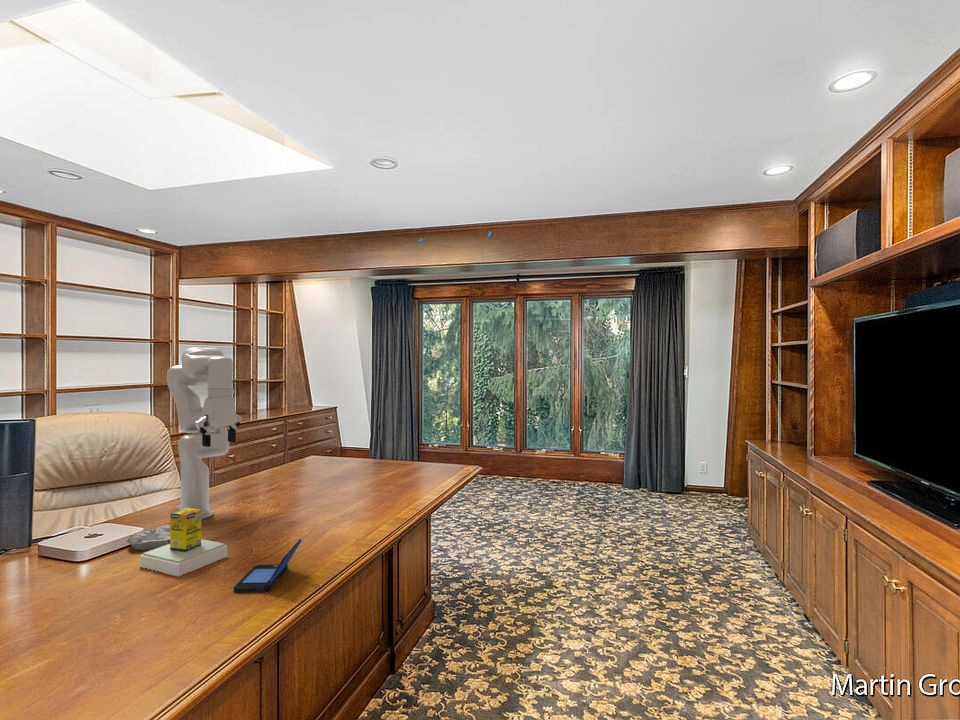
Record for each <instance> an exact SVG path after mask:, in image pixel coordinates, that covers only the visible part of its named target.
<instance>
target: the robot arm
mask: <svg viewBox="0 0 960 720" xmlns="http://www.w3.org/2000/svg"><path fill="white" fill-rule="evenodd" d="M180 360H181V364H178V365H173V366H171V367H169V368H168V369H167V372H166V383H167V387H168V390H169V392H170V394H171V396H172V398H173V400H174V402H175V407H176V412H177V413H176V414H177V420H178V425H179V429H180V430H181V432H182V433H185V434H184V435H183V436H181V437H180V438H179V440H178V441H177V449H178V450H177V451H178V454H179V456H178V457H179V463H180V503H179V505H176V506H175V510H178V511H179V510H183V509H185V508H193V509H201V510H202V515H201V520H204V519H207V518H210V517H212V516H213V515H214V510H213V509H210V470H209V469H210V468H209V466H208V465H207V464H206V463H205V462H204V461H203V460H202V459H206V458H210V457H211V458H212V457H221V456H225V455H226V454H228V453H229V451H230V445H231V444H230V443H236V441H237V438H236V437H237V431H238V429H239V427H240V425H241V422H242V420H243V416H241V415H239V414H237V413H236V404H235V403H236V401H235V397H233V394H234V393H235V391H236V390H235V389H233V383H234V382H233V381H234V380H233V379H234V378H233V373H234V367H233V366H234V360H233V359H232V358H231V357H227V356H226V355H224V352H223V351H222V350H221V348H219V347H204V346H203V347H202V346H201V347H199V346H198V347H197V346H196V347H194V346H193V347H188V348H187V349H185V350H184V351H183V352H182V354H181V356H180ZM200 386H207V397H205V398H204V402H203V406H202V403H201V398H200V396H199V395H198V394H197V393H196V392H195V391H194V390H192V388H189V387H200ZM186 433H187V434H186Z"/></svg>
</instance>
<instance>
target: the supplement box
mask: <svg viewBox="0 0 960 720" xmlns="http://www.w3.org/2000/svg"><path fill="white" fill-rule="evenodd" d="M201 515H202V510H201V509H193V508H185V509H183V510H179V509H178V510H177V511H173V512H171V513H170V515H169V516H170V524H169V525H170V550H175V551H183V552H186V551H188V550H191V549H193V548H195V547H198V546H201V539H202V519H201Z"/></svg>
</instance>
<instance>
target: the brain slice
mask: <svg viewBox="0 0 960 720" xmlns="http://www.w3.org/2000/svg"><path fill="white" fill-rule="evenodd" d="M140 531H141V532H140ZM140 531H137V532H138V533H137V532H135V533H134V534H133V535H131V536H130V537H129V538H127V542H128V543H129V545H130V546H131V547H132V548H133V549H134V550H137V551H142V550H143V551H148V550H147V549H149V550H154V549H155V548H159V547H162V546H165V545H168V544H170V524H165V525H160V526H157V527H149V528H145V529H142V530H140Z"/></svg>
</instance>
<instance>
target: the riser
mask: <svg viewBox="0 0 960 720" xmlns="http://www.w3.org/2000/svg"><path fill="white" fill-rule="evenodd" d="M227 557H228V545H227V544H225V543H223V542H218V541H213V540H208V539H204V538H201V546H198V547H195V548H193V549H191V550H188V551H186V552H183V551H175V550H170V544H168V545H165V546H162V547H159V548H156V549H150V550H147V551H144V552H143V553H142V554H140V555H139V561H140V562H139V564H140V565H139V566H140V568H141V567H142V569H145V568H147V569H146V570H149V569H151V570H150V571H153V570H155V571H154V572H157V571H159V572H158V573H161V572H163V573H162V574H166V575H169V576H174V577H177V578H179V577H181V576H184V575H185V574H188V572H189V573H191V572H193V571H195V570H198V569H200V568H203V567H205V565H206V566H208V565H210V564H212V563H215V562H218V561H220V560H223V559H225V558H227ZM222 558H223V559H222ZM217 560H218V561H217ZM183 574H184V575H183Z"/></svg>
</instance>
